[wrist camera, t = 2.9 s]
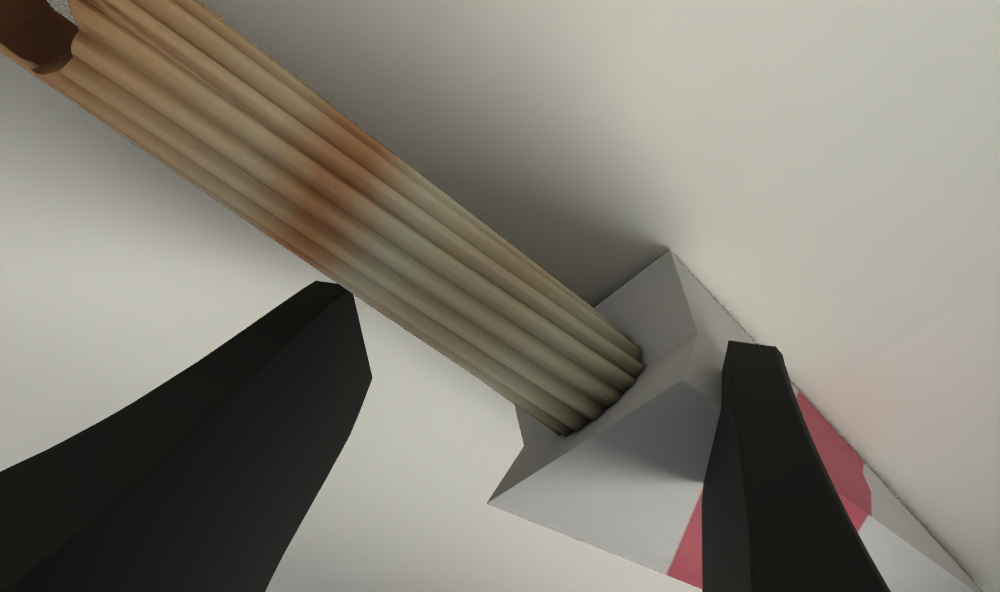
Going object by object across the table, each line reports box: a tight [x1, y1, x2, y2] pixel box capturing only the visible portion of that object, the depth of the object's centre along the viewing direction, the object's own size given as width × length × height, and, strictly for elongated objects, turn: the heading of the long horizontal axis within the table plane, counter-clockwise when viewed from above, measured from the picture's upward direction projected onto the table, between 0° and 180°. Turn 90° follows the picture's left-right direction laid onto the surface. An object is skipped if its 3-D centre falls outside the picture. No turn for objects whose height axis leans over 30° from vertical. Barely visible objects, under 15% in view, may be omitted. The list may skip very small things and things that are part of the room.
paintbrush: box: [0, 0, 983, 592], centre depth 11 cm, size 4×3×20 cm
